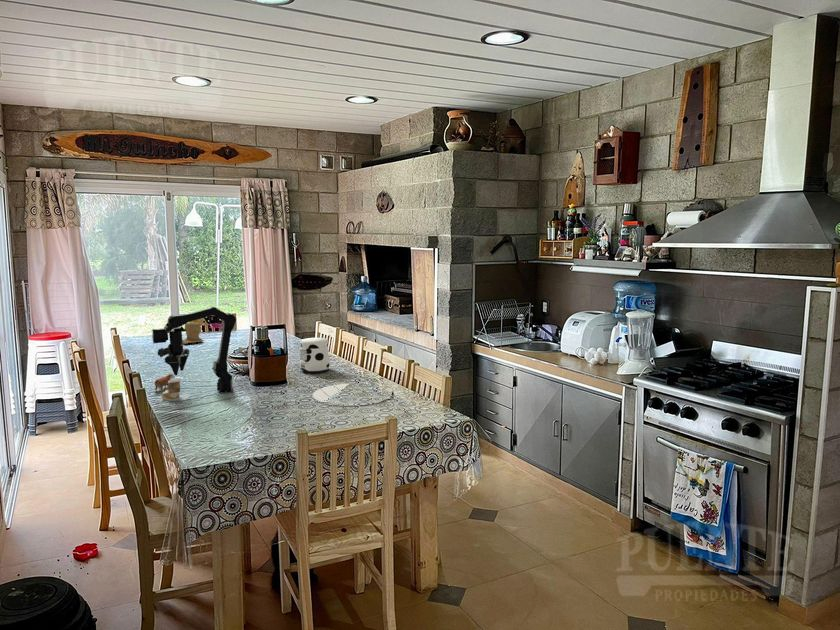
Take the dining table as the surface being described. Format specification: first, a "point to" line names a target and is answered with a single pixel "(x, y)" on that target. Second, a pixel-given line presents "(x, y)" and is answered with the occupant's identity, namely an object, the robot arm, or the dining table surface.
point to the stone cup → (192, 333)
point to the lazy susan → (332, 391)
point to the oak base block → (170, 395)
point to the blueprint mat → (181, 397)
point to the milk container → (314, 355)
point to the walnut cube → (173, 386)
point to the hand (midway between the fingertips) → (178, 372)
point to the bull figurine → (163, 381)
